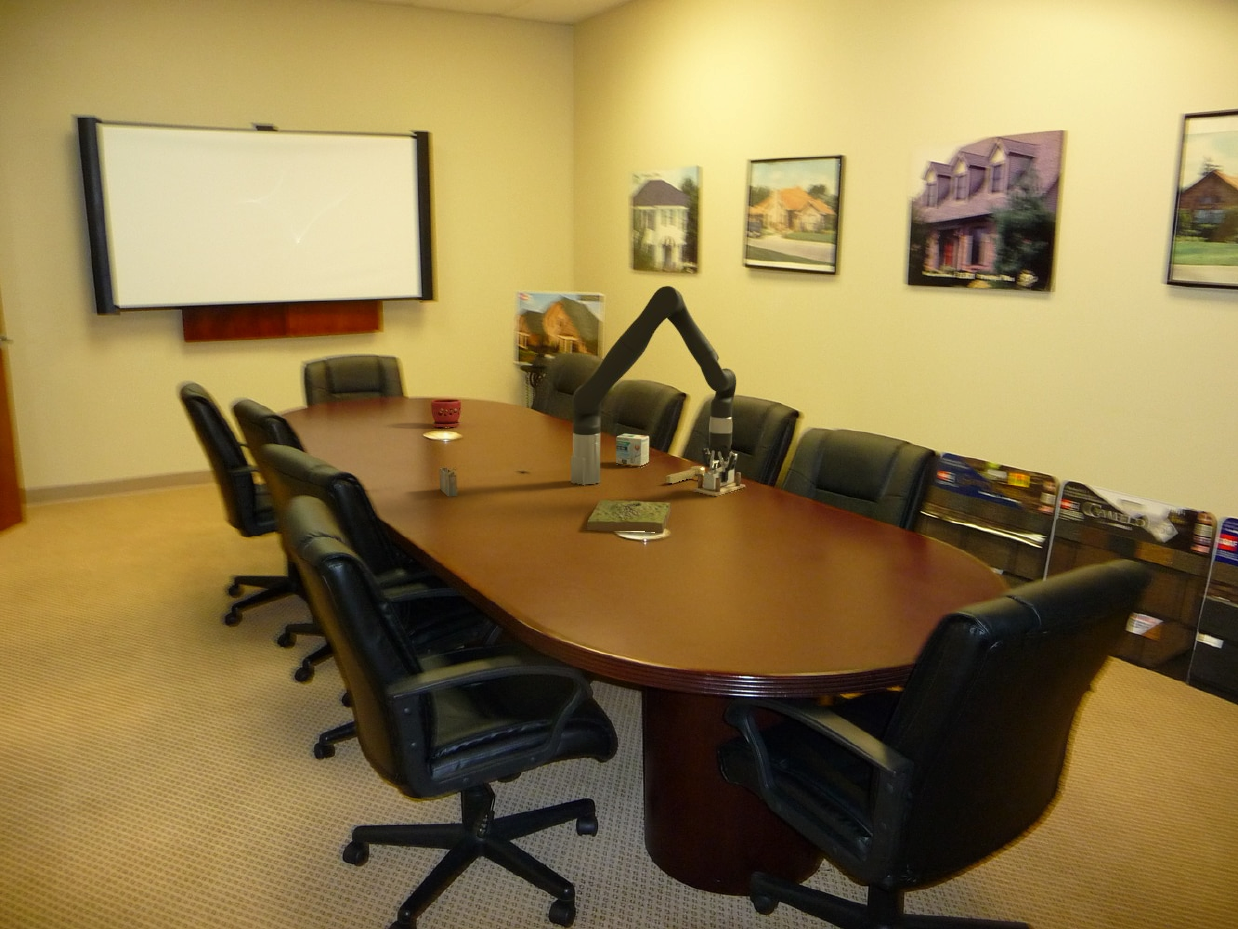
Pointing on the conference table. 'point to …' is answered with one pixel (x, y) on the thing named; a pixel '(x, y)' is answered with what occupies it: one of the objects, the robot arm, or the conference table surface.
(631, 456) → the light bulb box
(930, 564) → the conference table surface
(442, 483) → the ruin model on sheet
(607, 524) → the miniature landscape model
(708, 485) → the grey rectangular block
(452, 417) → the plant pot
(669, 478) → the beige long bar
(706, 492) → the peg rack
